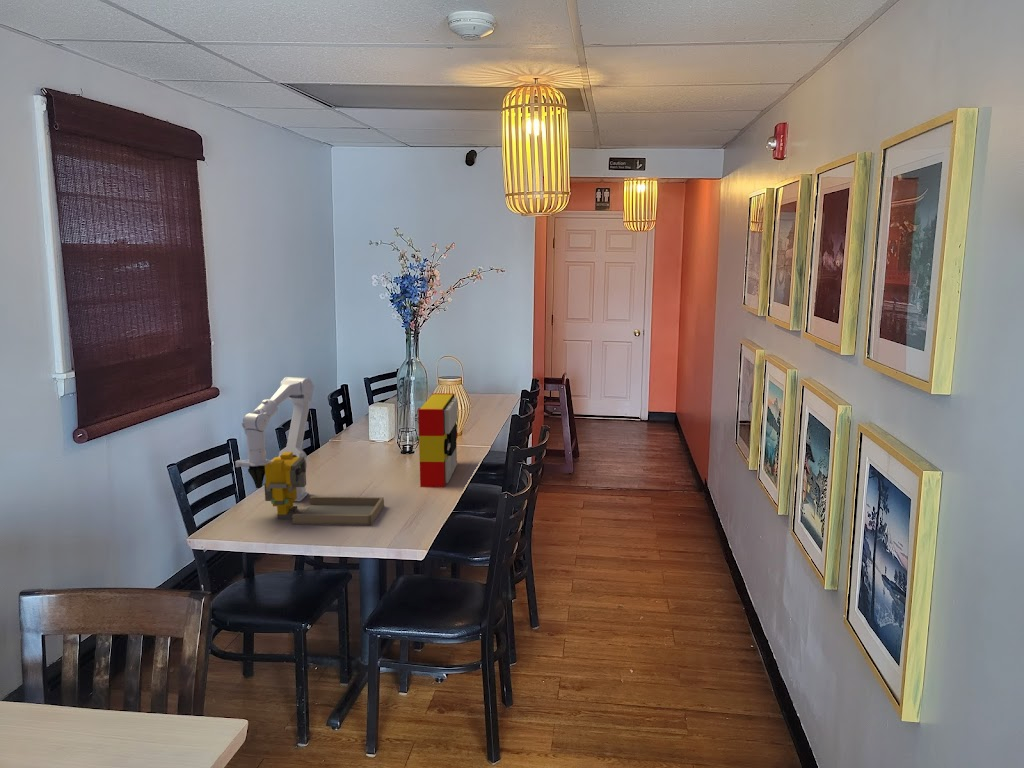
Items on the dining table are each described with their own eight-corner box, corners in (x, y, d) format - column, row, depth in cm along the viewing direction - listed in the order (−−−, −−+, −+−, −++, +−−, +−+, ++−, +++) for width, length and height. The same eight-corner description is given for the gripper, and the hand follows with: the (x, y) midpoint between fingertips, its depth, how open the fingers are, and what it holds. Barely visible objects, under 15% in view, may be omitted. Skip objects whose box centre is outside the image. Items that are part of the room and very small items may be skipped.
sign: (448, 487, 291) (447, 409, 286) (420, 487, 292) (418, 409, 287) (459, 463, 324) (458, 393, 318) (434, 463, 324) (432, 393, 319)
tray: (311, 505, 272) (310, 496, 271) (384, 506, 270) (383, 497, 270) (292, 524, 253) (292, 514, 252) (371, 525, 251) (370, 515, 251)
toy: (301, 521, 256) (298, 463, 252) (262, 521, 256) (258, 463, 252) (312, 507, 270) (309, 451, 266) (275, 507, 270) (271, 452, 266)
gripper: (230, 451, 256) (233, 490, 258) (273, 451, 255) (275, 491, 257) (239, 446, 263) (241, 484, 265) (280, 446, 262) (283, 484, 264)
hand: (259, 487), depth 261 cm, fingers closed
